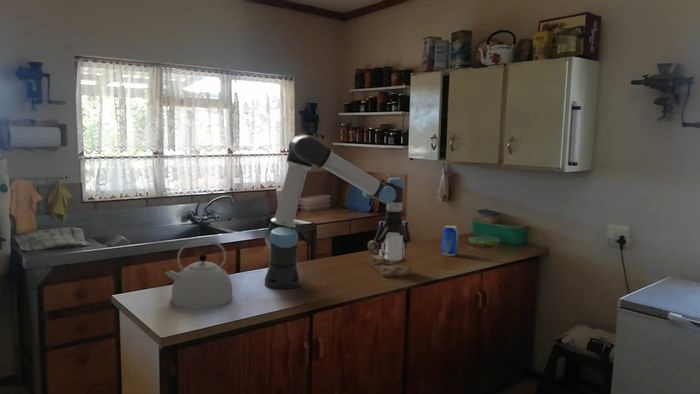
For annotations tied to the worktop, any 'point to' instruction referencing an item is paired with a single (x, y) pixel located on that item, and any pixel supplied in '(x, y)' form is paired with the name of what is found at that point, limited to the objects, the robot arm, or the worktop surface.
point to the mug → (393, 246)
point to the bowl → (374, 248)
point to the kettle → (201, 283)
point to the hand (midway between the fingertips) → (391, 255)
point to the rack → (388, 267)
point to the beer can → (449, 240)
